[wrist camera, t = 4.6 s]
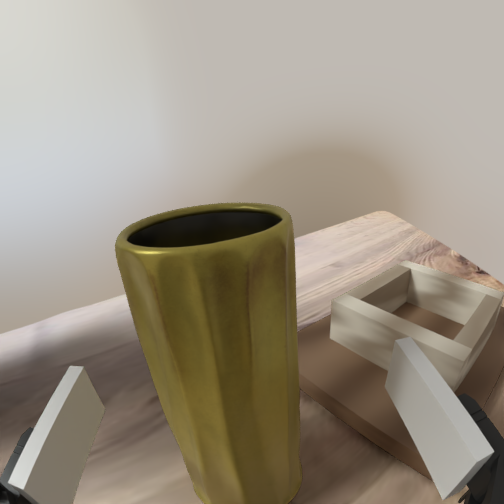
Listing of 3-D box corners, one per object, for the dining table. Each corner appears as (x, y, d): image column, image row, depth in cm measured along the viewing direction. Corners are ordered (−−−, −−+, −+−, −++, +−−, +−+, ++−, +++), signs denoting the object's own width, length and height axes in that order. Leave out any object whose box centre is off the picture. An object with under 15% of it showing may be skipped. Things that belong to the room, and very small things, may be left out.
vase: (218, 427, 17) (171, 202, 13) (312, 444, 15) (319, 198, 11) (176, 500, 12) (58, 253, 7) (286, 530, 10) (280, 264, 5)
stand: (266, 361, 24) (262, 309, 22) (401, 283, 33) (405, 243, 32) (433, 481, 11) (468, 430, 9) (519, 327, 21) (533, 282, 19)
